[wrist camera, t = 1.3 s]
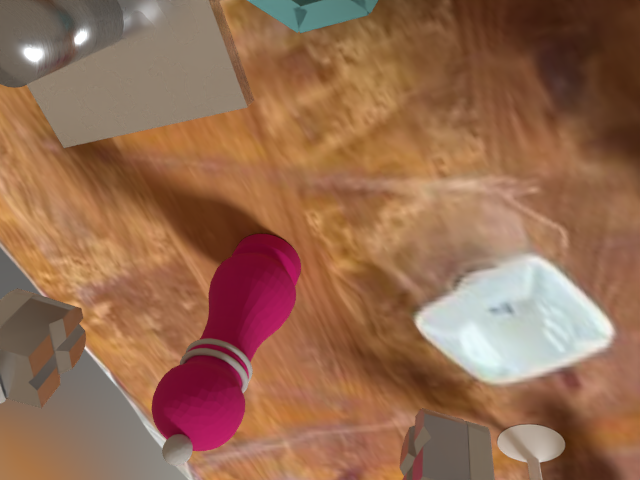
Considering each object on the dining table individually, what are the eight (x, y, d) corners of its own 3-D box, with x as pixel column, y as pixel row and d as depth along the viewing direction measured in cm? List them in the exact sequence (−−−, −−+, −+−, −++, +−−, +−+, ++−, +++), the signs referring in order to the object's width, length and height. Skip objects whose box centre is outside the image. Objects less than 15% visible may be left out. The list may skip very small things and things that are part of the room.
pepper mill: (219, 232, 44) (92, 424, 29) (293, 223, 42) (200, 426, 26) (246, 293, 48) (147, 493, 32) (315, 288, 46) (246, 500, 30)
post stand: (152, -189, 28) (25, -223, 19) (253, 100, 37) (196, 162, 28) (-58, -91, 33) (-227, -85, 25) (74, 140, 42) (-19, 203, 34)
